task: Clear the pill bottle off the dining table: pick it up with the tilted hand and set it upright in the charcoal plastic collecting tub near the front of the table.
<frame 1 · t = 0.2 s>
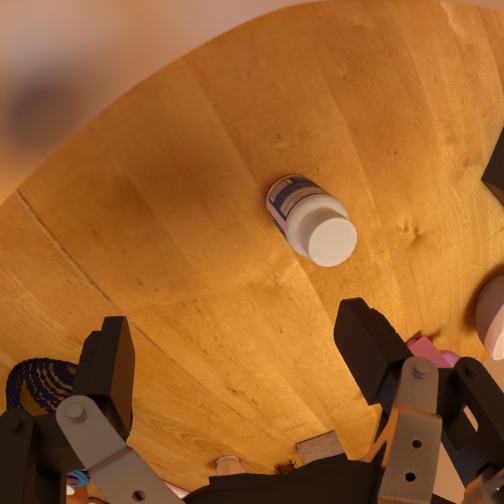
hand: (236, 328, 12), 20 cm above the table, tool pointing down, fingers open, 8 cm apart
patterned openwork dome: (69, 403, 39), on the table
cup: (227, 462, 54), on the table
pill bottle: (291, 199, 32), on the table
bowl: (489, 295, 49), on the table
bread: (53, 467, 47), on the table
teapot: (402, 359, 49), on the table
yellow square dish: (95, 501, 58), on the table
medicine box: (315, 440, 56), on the table
calculator: (155, 491, 57), on the table
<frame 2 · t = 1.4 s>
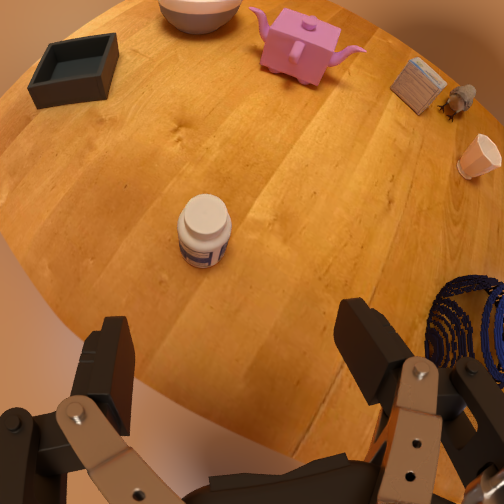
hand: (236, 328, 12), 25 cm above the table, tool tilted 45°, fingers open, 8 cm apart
patterned openwork dome: (468, 339, 41), on the table
cup: (466, 168, 52), on the table
pill bottle: (202, 247, 38), on the table
bowl: (197, 23, 51), on the table
teapot: (292, 67, 51), on the table
tub: (78, 79, 43), on the table
medicine box: (407, 99, 54), on the table
decorative bird: (453, 107, 58), on the table
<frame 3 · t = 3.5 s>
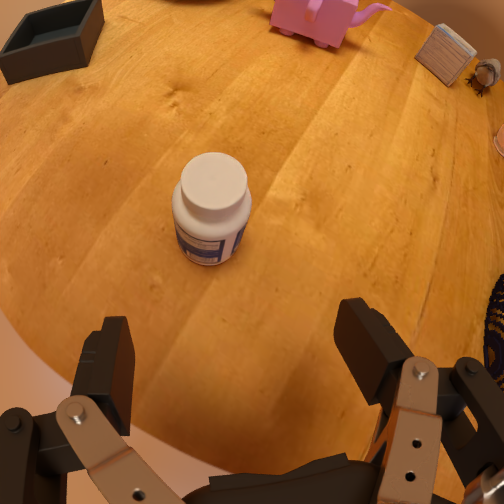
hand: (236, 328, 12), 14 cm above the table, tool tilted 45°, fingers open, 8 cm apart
cup: (502, 146, 41), on the table
pill bottle: (208, 237, 28), on the table
teapot: (306, 30, 41), on the table
tub: (56, 50, 33), on the table
medicine box: (434, 70, 44), on the table
decorative bird: (479, 82, 47), on the table
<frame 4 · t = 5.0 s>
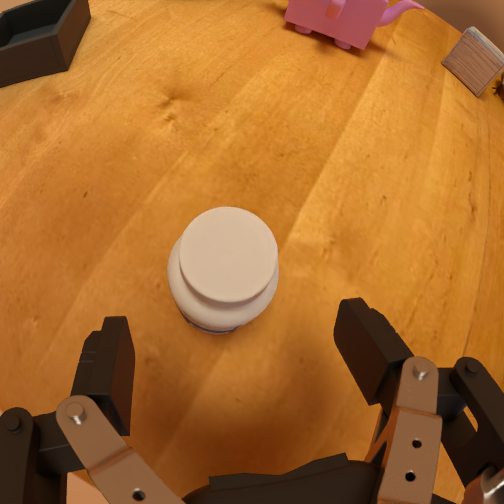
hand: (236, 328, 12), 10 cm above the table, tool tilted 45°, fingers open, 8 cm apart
pill bottle: (215, 296, 22), on the table
teapot: (325, 29, 35), on the table
tub: (35, 51, 27), on the table
medicine box: (461, 77, 38), on the table
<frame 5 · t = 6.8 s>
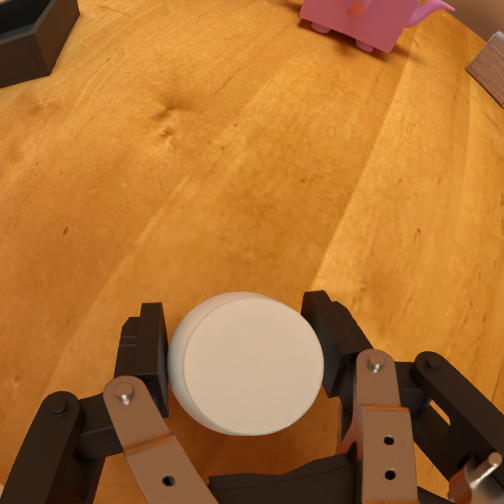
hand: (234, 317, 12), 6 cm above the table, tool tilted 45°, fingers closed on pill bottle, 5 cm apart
pill bottle: (225, 360, 18), on the table, touching gripper
teapot: (343, 28, 30), on the table
tub: (16, 53, 23), on the table
medicine box: (485, 86, 34), on the table
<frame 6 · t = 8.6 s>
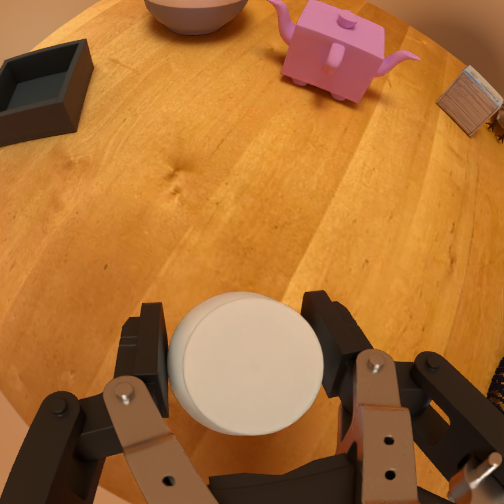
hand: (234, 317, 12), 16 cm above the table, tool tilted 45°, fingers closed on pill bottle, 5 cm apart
pill bottle: (225, 360, 18), point 9 cm above the table, touching gripper
bowl: (195, 21, 40), on the table
teapot: (322, 77, 39), on the table
tub: (42, 104, 31), on the table
medicine box: (455, 116, 42), on the table
decorative bird: (499, 123, 45), on the table
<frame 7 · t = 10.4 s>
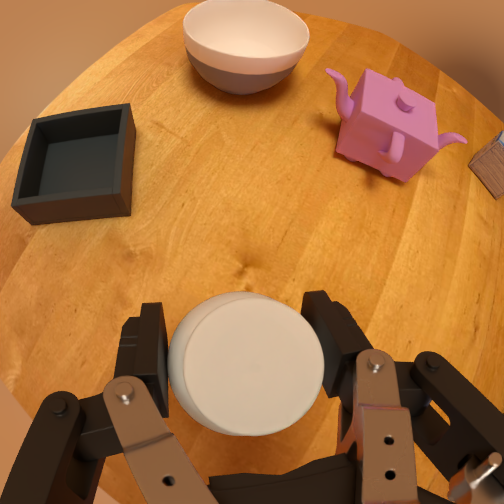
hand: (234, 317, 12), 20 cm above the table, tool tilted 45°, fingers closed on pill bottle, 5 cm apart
pill bottle: (226, 360, 18), point 13 cm above the table, touching gripper
bowl: (238, 75, 42), on the table
teapot: (370, 148, 41), on the table
tub: (82, 175, 34), on the table
medicine box: (484, 177, 44), on the table
when the fingers open (7 cm above the table, at t = 17.6 s): pill bottle stays where it is, resting on tub.
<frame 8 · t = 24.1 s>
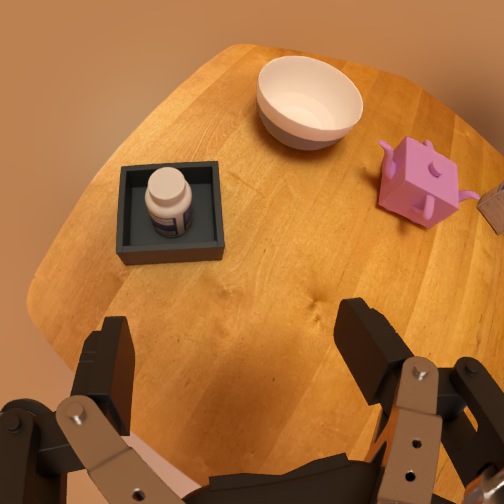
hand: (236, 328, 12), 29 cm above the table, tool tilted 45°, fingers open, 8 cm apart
pill bottle: (172, 219, 42), point 1 cm above the table, touching tub
bowl: (295, 128, 51), on the table
teapot: (402, 198, 50), on the table
tub: (171, 220, 43), on the table
medicine box: (489, 216, 54), on the table
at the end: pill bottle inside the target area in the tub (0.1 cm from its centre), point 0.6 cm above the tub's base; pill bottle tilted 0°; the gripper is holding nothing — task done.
